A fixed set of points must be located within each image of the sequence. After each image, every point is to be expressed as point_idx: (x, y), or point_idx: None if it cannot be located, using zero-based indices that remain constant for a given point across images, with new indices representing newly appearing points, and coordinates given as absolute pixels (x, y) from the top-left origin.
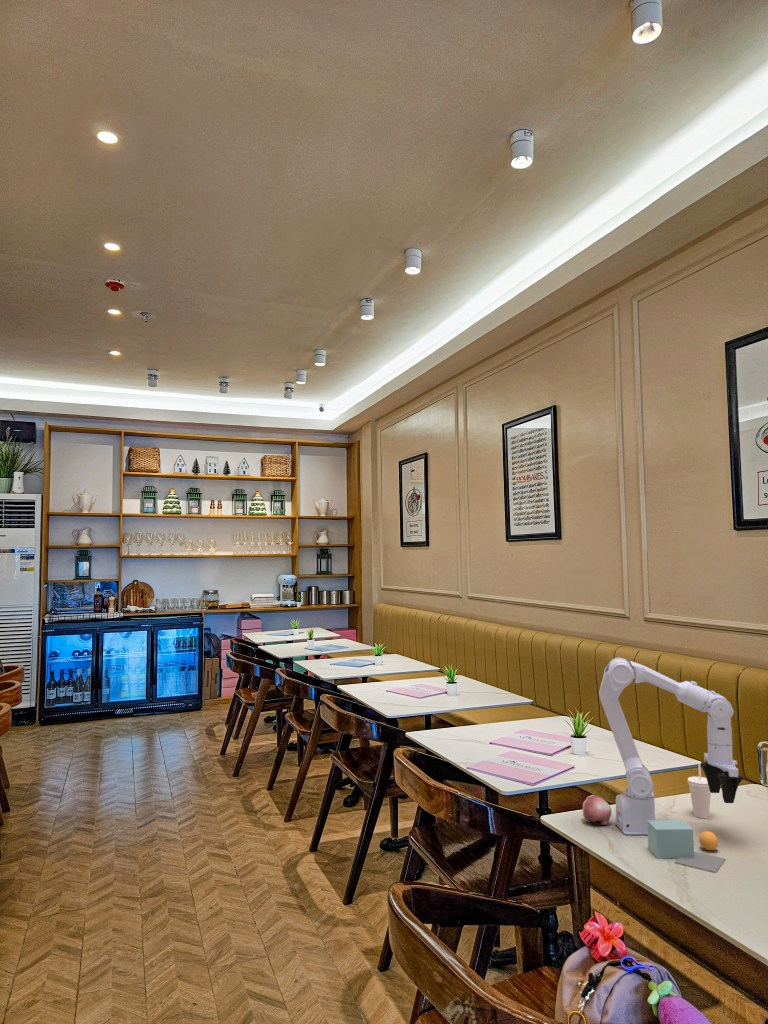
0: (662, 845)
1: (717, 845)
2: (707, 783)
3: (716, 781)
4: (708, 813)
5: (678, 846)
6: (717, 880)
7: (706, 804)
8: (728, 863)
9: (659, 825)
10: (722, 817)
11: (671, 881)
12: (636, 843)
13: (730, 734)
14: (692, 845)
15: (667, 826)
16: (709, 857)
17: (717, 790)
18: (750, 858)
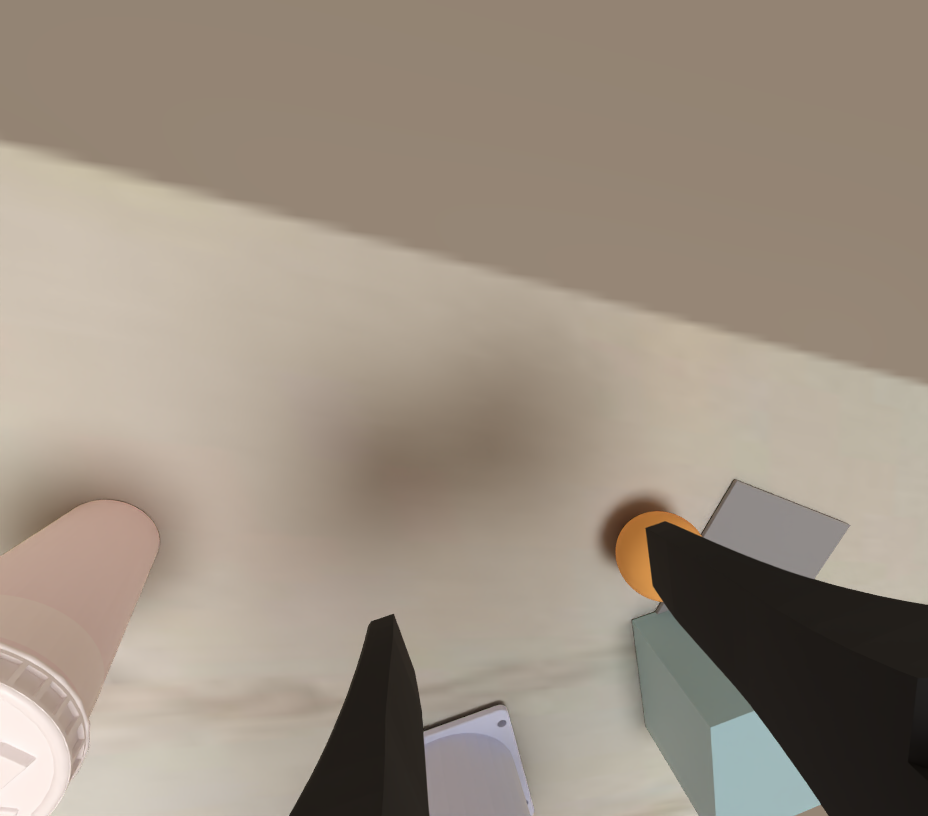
0: None
1: (674, 514)
2: (34, 704)
3: (399, 734)
4: (117, 515)
5: None
6: (897, 522)
7: (116, 567)
8: (768, 471)
9: (778, 800)
10: (78, 416)
11: None
12: (604, 762)
13: None
14: None
15: (791, 774)
16: (728, 537)
17: (401, 645)
18: (716, 371)
